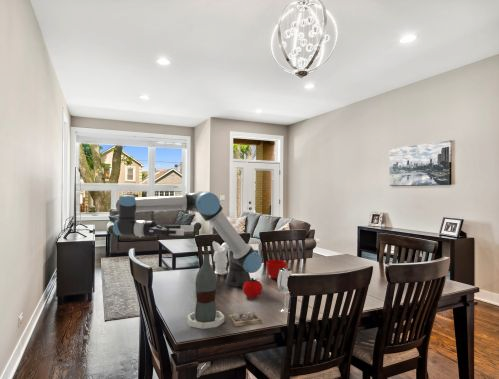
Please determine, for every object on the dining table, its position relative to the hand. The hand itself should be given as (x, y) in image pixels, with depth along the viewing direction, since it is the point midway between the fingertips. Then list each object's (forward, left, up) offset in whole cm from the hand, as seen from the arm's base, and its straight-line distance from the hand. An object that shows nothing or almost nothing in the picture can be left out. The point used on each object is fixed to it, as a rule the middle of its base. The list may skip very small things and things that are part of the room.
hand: (188, 230), depth 157 cm
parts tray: (-21, +19, -38) cm, 48 cm away
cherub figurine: (-33, -60, -38) cm, 78 cm away
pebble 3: (-24, +18, -37) cm, 48 cm away
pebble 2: (-21, +21, -37) cm, 48 cm away
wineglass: (-43, +14, -38) cm, 59 cm away
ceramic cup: (-65, -39, -38) cm, 85 cm away
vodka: (-5, +14, -38) cm, 41 cm away
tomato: (-36, -10, -38) cm, 53 cm away
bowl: (-5, +14, -38) cm, 41 cm away
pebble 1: (-18, +18, -37) cm, 45 cm away
